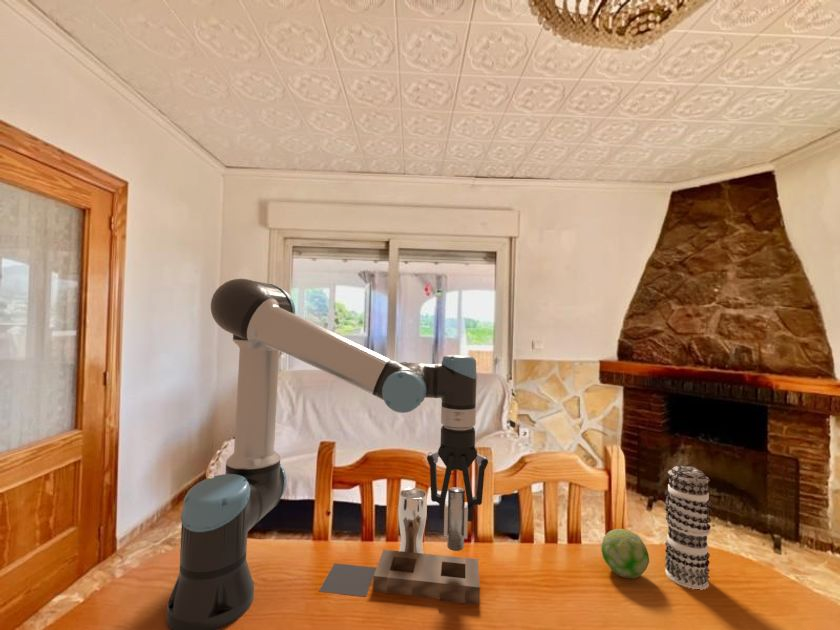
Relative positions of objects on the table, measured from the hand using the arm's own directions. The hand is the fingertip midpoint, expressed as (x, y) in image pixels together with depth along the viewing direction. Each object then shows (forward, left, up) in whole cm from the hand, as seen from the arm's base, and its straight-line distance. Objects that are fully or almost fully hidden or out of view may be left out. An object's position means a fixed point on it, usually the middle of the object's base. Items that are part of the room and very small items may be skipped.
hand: (455, 534), depth 87 cm
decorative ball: (+39, +11, -11) cm, 42 cm away
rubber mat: (-23, -2, -11) cm, 25 cm away
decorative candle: (+53, +12, -11) cm, 56 cm away
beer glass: (-11, +10, -11) cm, 19 cm away
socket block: (-6, 0, -11) cm, 13 cm away
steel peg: (0, 0, -3) cm, 3 cm away
